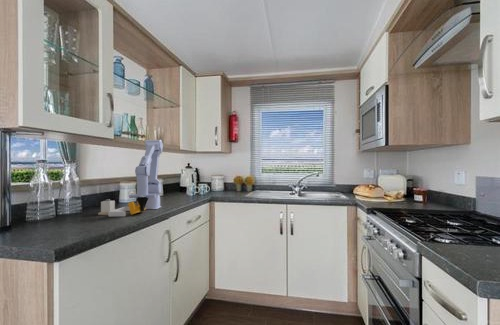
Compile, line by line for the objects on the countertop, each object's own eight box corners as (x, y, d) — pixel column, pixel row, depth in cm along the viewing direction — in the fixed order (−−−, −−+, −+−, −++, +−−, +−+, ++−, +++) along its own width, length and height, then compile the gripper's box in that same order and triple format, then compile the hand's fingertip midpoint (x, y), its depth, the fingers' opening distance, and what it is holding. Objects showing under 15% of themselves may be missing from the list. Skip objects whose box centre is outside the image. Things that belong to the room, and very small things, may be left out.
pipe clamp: (138, 211, 146) (135, 201, 146) (145, 209, 146) (142, 199, 146) (128, 215, 134) (124, 204, 134) (135, 213, 134) (132, 201, 134)
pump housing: (105, 212, 144) (105, 198, 145) (117, 212, 144) (117, 198, 145) (98, 214, 137) (98, 200, 138) (110, 214, 137) (110, 200, 138)
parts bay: (124, 210, 150) (124, 206, 150) (139, 210, 150) (139, 206, 150) (108, 216, 132) (108, 211, 132) (125, 216, 132) (125, 211, 132)
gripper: (126, 187, 137) (126, 212, 137) (152, 187, 137) (152, 211, 137) (132, 186, 144) (132, 209, 144) (157, 186, 144) (157, 209, 144)
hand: (142, 210), depth 141 cm, fingers closed
